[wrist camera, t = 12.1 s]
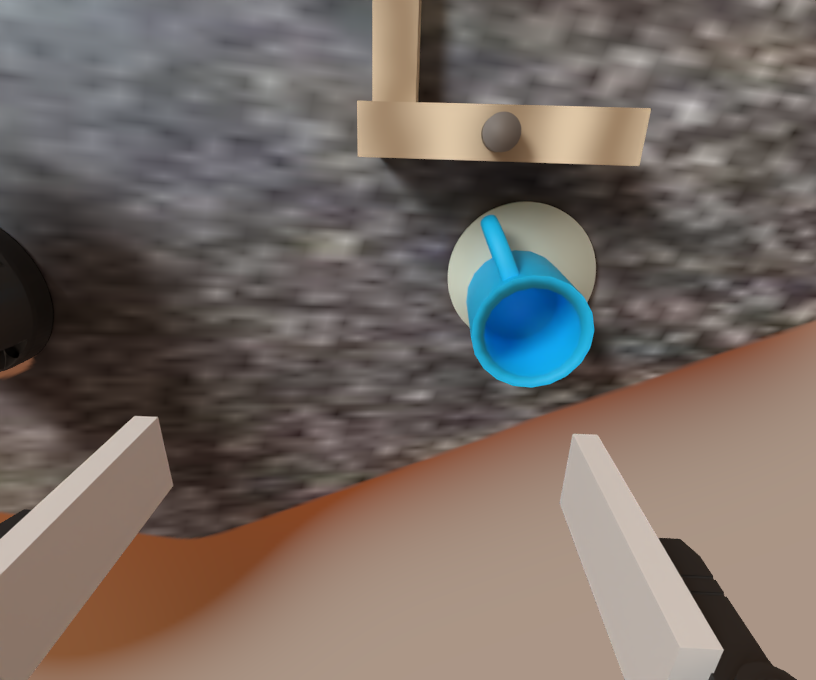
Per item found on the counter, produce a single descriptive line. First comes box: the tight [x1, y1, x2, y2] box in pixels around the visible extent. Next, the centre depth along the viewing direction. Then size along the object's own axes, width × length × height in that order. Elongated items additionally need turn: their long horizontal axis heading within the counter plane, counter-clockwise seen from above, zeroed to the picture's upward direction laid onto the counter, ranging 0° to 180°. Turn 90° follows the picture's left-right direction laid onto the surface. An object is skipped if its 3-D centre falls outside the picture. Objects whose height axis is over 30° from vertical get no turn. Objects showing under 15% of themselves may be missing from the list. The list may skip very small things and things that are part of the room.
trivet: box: [448, 201, 596, 327], centre depth 38 cm, size 12×12×1 cm
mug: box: [466, 215, 594, 388], centre depth 34 cm, size 12×8×8 cm
